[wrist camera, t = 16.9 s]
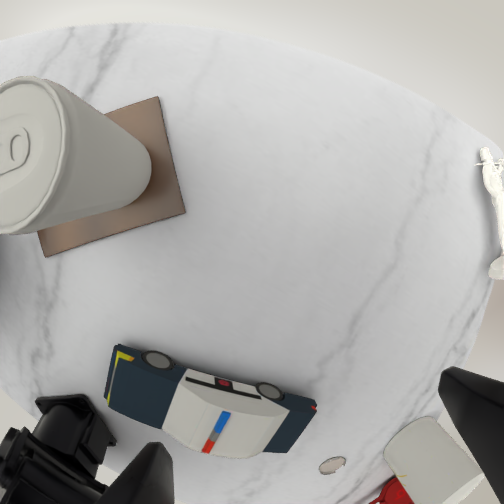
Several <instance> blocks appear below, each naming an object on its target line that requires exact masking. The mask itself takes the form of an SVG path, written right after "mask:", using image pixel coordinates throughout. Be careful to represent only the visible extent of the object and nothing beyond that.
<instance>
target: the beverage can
mask: <svg viewBox="0 0 504 504" xmlns="http://www.w3.org/2000/svg"><path fill="white" fill-rule="evenodd" d="M150 176H151V159H150V156H149V153H148V151H147V150H146V148H145V146H144V145H143V144H142V143H141V142H139V141H138V140H137V139H136V138H134V137H133V136H132V135H130V134H129V133H128V132H126V131H125V130H124V129H123V128H121V127H120V126H119V125H117V124H116V123H115V122H113V121H112V120H111V119H109V118H108V117H106V116H105V115H104V114H102V113H101V112H99V111H98V110H96V109H95V108H94V107H92V106H91V105H89V104H88V103H86V102H85V101H84V100H82V99H81V98H79V97H78V96H76V95H75V94H73V93H72V92H70V91H69V90H67V89H66V88H65V87H63V86H62V85H60V84H57V83H55V82H52V81H50V80H47V79H39V78H37V77H34V76H21V77H16V78H14V79H11V80H9V81H6V82H4V83H3V84H1V85H0V235H1V234H10V235H18V234H28V233H32V232H35V231H38V230H42V229H45V228H48V227H52V226H55V225H59V224H62V223H65V222H69V221H72V220H76V219H80V218H83V217H87V216H91V215H95V214H99V213H103V212H107V211H111V210H115V209H119V208H122V207H124V206H126V205H129V204H130V203H132V202H133V201H134V200H136V199H137V198H138V197H139V196H140V195H141V194H142V193H143V192H144V190H145V188H146V187H147V185H148V183H149V180H150Z"/></svg>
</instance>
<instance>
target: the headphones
mask: <svg viewBox="0 0 504 504" xmlns="http://www.w3.org/2000/svg"><path fill="white" fill-rule="evenodd" d="M377 502H379V503H380V504H415V503H414V502H413V500H412V499H411V497H410V496H409V494H408V493H407V491H406V490H405V488H404V487H403V485H402V484H401V482H400V481H399V479H398V478H397V477H396V478H394V479H392V480H390V481H389V482H388V483H387V484H386V485H385V486H384V488H383V489H382V491H381V493H380V496H379V497H378V498H376V499H375V500H373V501H372V502H370V503H369V504H376V503H377Z"/></svg>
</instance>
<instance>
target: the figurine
mask: <svg viewBox="0 0 504 504" xmlns="http://www.w3.org/2000/svg"><path fill="white" fill-rule="evenodd" d="M480 157H481V161H483V160H484V162H482V163H477V164H475V165H483V170H482V174H483V181H484V185H485V187H486V189H487V190H488V191H489V193H490V194H491V195H492V204H493V206H494V208H495V210H496V215H497V224H498V232H499V239H500V244H501V248H502V251H503V254H504V191H503V187H502V182H501V181H502V180H501V178H502V177H500V176H501V173H502V171H503V169H504V168H503V164H504V159H503V158H500V159H498V162H493V160H492V155H491V153H490V151H489V149H488V147H483V148H481V150H480ZM501 160H502V161H501ZM494 164H499V165H500V167H499V168H498V169H497V167H498V166H495V165H494ZM488 276H489V277H490V278H492V279H498V280H499V279H504V255H502V256H500V257H499V258H497V259H496V260H494V261H493V262H492V263H491V265H490V269H489V272H488Z"/></svg>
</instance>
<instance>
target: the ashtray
mask: <svg viewBox="0 0 504 504" xmlns="http://www.w3.org/2000/svg"><path fill="white" fill-rule="evenodd" d="M345 464H346V461H345V459H344V458H343V457H334V458H331V459H329V460H327V461H325V462H324V463H323V464H322V465H321V466H320V467H319V470H320V473H321V474H324V475H328V474H333V473H335V470H337V469H339V468H340V467H341V466H342V465H344V466H345Z"/></svg>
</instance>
